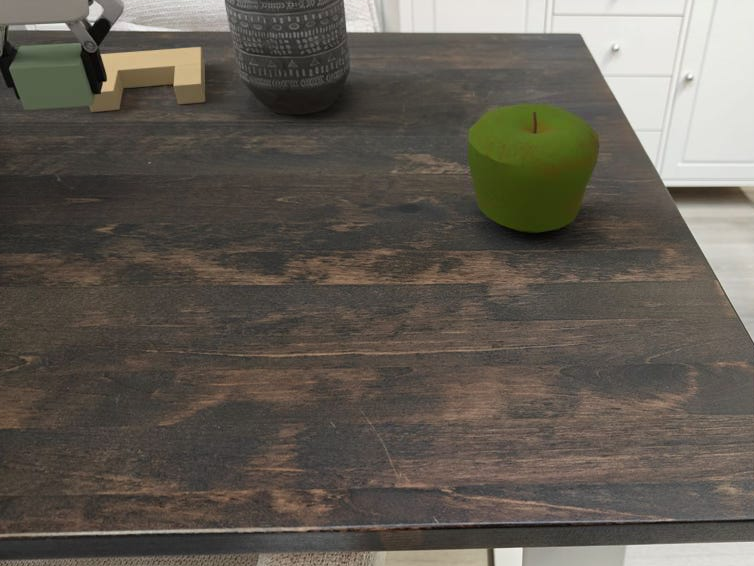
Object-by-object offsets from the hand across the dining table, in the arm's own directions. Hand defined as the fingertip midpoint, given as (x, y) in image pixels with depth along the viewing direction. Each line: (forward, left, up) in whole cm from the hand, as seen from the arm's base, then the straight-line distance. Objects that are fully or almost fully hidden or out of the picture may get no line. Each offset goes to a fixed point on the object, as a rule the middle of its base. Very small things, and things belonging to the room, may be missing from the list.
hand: (60, 89), depth 73 cm
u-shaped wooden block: (+4, +28, -11) cm, 30 cm away
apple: (+43, -17, -11) cm, 48 cm away
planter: (+23, +19, -11) cm, 32 cm away
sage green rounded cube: (0, 0, -1) cm, 1 cm away
